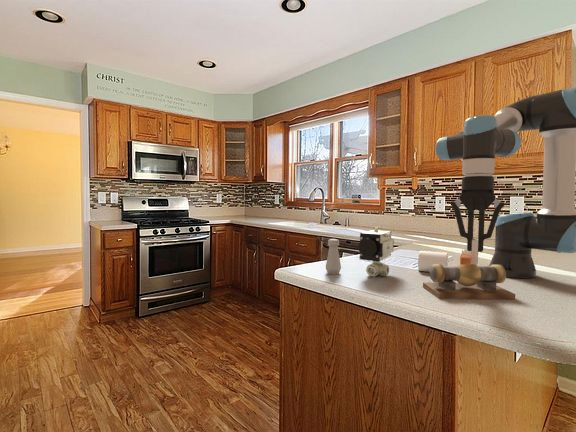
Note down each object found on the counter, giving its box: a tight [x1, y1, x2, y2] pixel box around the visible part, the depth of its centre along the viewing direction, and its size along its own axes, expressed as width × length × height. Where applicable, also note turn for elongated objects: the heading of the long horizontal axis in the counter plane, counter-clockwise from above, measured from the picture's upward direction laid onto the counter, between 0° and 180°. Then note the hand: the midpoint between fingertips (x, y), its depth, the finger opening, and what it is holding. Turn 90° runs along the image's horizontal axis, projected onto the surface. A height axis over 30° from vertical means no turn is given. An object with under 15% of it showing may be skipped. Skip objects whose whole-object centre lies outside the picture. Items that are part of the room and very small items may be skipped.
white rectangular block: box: [417, 250, 449, 273], centre depth 134 cm, size 12×10×8 cm
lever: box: [459, 249, 472, 265], centre depth 98 cm, size 18×3×2 cm, turn 150°
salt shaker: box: [325, 238, 342, 276], centre depth 129 cm, size 6×6×13 cm
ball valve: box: [357, 227, 394, 278], centre depth 127 cm, size 18×8×18 cm, turn 147°
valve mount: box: [422, 262, 516, 300], centre depth 104 cm, size 22×12×11 cm, turn 89°
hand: (474, 263), depth 93 cm, fingers closed
